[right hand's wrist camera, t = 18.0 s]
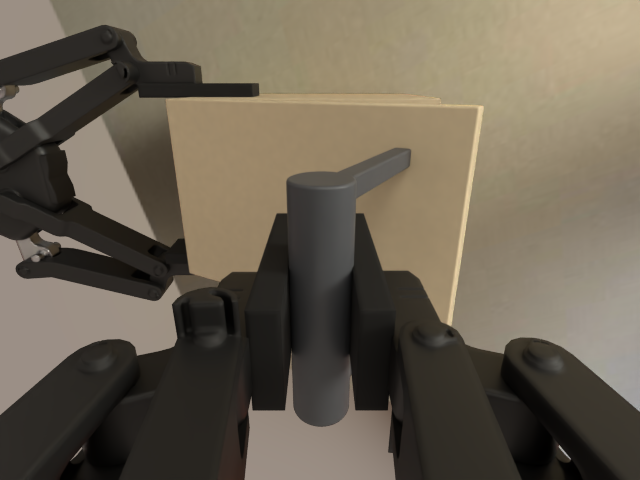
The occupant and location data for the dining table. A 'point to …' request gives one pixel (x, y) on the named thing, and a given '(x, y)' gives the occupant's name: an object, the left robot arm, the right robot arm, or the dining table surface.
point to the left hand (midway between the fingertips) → (260, 176)
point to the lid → (325, 209)
